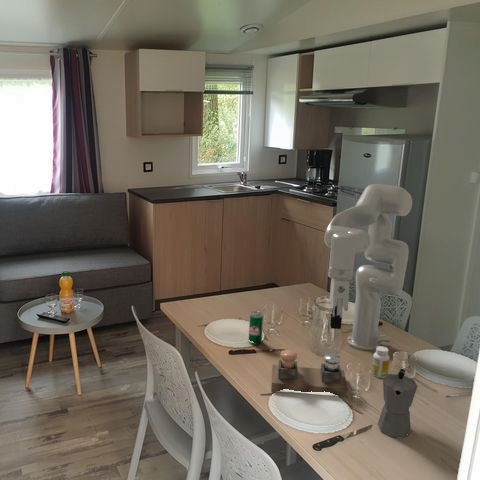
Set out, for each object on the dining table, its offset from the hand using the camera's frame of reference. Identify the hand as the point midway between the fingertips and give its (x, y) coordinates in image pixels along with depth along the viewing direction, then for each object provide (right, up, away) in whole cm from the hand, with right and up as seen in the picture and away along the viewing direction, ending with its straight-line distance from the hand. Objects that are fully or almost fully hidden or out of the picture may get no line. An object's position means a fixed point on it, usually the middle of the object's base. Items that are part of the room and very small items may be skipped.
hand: (335, 326), depth 170 cm
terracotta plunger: (-15, -14, +5) cm, 21 cm away
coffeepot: (+14, -27, -15) cm, 34 cm away
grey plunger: (-1, -15, +4) cm, 15 cm away
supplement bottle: (+18, -19, +15) cm, 30 cm away
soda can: (-25, -12, +35) cm, 44 cm away
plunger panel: (-8, -20, +6) cm, 22 cm away
